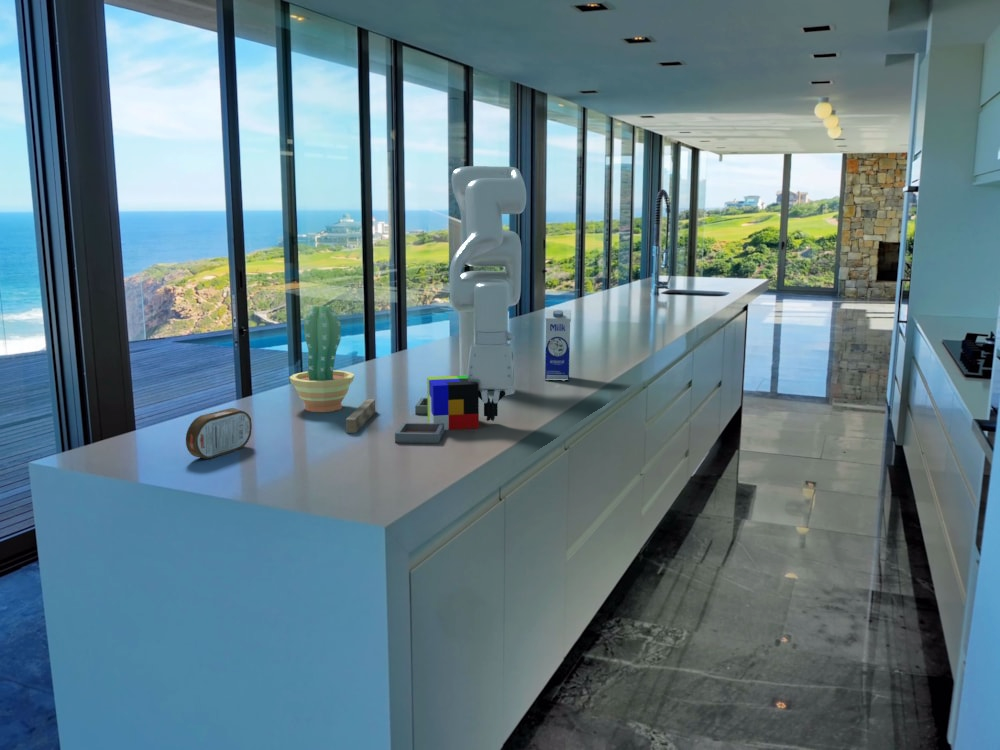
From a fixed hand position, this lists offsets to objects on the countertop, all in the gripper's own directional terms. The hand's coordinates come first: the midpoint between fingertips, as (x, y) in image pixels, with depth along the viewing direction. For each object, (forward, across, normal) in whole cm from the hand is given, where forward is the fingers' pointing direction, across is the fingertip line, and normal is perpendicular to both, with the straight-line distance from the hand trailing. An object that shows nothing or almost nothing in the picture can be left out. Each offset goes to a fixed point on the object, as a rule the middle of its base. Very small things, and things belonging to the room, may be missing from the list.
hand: (490, 419), depth 183 cm
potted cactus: (+1, +42, -14) cm, 44 cm away
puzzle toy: (+1, +9, 0) cm, 9 cm away
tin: (+2, +51, +26) cm, 58 cm away
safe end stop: (+1, +30, 0) cm, 30 cm away
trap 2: (+1, +14, -13) cm, 19 cm away
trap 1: (+1, +14, +12) cm, 19 cm away
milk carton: (+1, -16, -54) cm, 56 cm away
